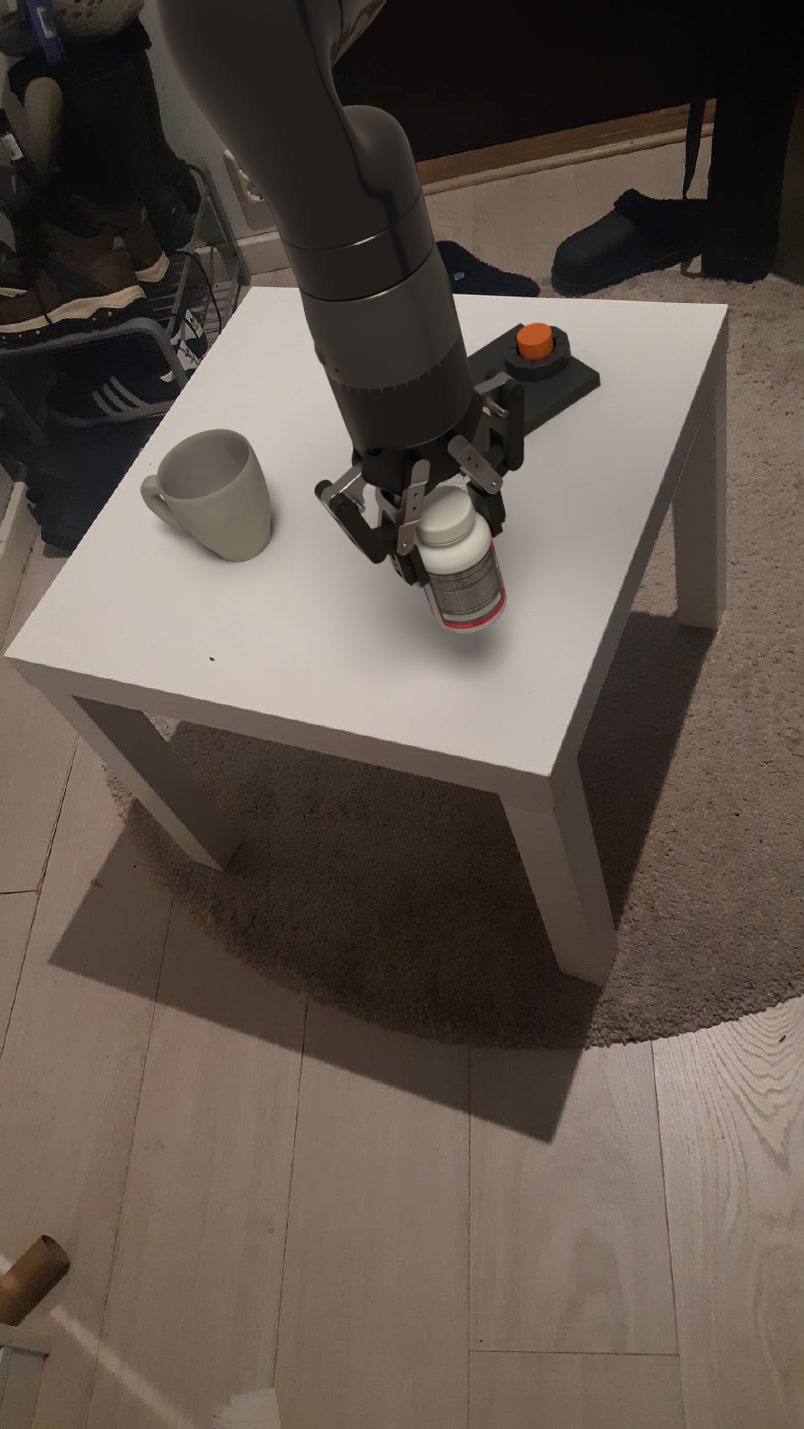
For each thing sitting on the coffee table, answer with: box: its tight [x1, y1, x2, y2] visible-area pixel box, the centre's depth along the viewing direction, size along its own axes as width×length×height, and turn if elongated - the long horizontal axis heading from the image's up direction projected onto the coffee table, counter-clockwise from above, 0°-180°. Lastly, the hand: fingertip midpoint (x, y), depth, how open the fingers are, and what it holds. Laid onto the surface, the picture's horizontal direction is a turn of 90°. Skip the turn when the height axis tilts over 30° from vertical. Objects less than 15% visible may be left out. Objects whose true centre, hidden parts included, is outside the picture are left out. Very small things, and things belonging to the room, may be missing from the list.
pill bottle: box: [414, 484, 508, 634], centre depth 66 cm, size 5×5×10 cm
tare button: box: [517, 322, 553, 360], centre depth 92 cm, size 3×3×2 cm
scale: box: [459, 322, 601, 477], centre depth 93 cm, size 17×12×3 cm
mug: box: [139, 428, 272, 563], centre depth 88 cm, size 12×9×10 cm
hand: (454, 553), depth 65 cm, fingers closed on pill bottle, 5 cm apart
